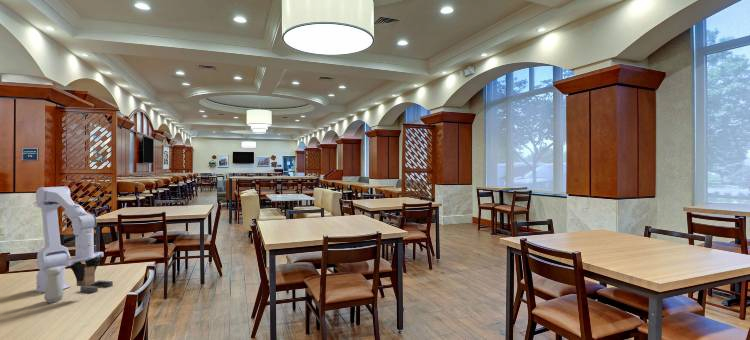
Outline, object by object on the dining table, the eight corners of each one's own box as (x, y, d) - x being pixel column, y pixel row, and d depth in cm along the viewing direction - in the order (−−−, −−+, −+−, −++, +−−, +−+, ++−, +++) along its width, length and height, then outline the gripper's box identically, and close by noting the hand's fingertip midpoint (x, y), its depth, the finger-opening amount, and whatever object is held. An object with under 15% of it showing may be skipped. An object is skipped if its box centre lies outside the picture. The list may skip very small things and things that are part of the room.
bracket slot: (80, 291, 153) (80, 286, 153) (99, 284, 161) (99, 280, 161) (94, 292, 152) (94, 287, 152) (112, 285, 160) (112, 281, 160)
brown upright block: (76, 285, 144) (76, 268, 144) (86, 282, 148) (86, 265, 148) (85, 286, 143) (84, 268, 143) (94, 283, 147) (94, 266, 147)
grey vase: (52, 304, 139) (51, 270, 139) (40, 303, 140) (39, 269, 140) (67, 298, 145) (67, 266, 144) (56, 297, 146) (55, 265, 146)
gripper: (74, 249, 137) (75, 285, 138) (109, 241, 152) (110, 274, 152) (59, 249, 139) (60, 284, 139) (95, 241, 153) (95, 273, 153)
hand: (85, 278), depth 146 cm, fingers closed on brown upright block, 4 cm apart
